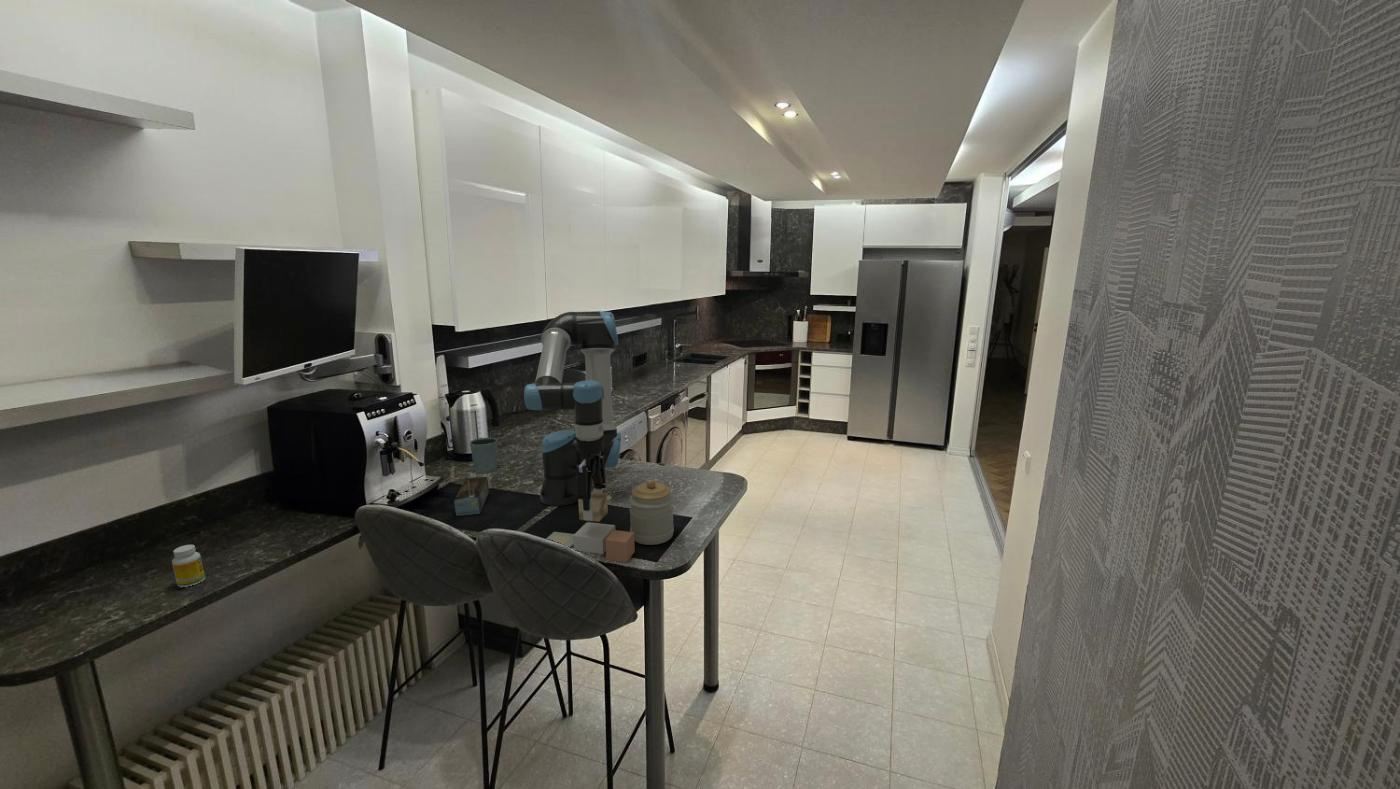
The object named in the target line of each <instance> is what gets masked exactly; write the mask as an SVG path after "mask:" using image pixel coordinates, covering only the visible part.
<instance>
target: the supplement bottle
mask: <svg viewBox="0 0 1400 789" xmlns="http://www.w3.org/2000/svg"><path fill="white" fill-rule="evenodd" d="M172 552H173V556H174V558H173V559H172V561H171V564H172V569H173V573H174V577H175V581H176V582H175V583H176V585H177V587H178V586H179V587H178V588H183V587H185V588H189V587H188V586H191V587H193V586H192V585H194V586H196V584H197V585H199V584H201V583H203V582H204V581H205V580H206V573H205V570H204V565H203V561H202V556H201V553H200V552H197V551H196V546H195V545H194V544H185V545H180V546H179V547H177V548H175V549H174V550H173V551H172ZM200 582H201V583H200ZM198 583H199V584H198Z"/></svg>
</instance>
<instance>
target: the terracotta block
mask: <svg viewBox="0 0 1400 789" xmlns="http://www.w3.org/2000/svg"><path fill="white" fill-rule="evenodd" d="M605 541H606V552H605V560H608V561H613V562H614V561H615V562H622V563H628V562H629V560H630V559H631V558H632V556H633V554H634V553H635V551H636V549H635V541H634V532H630V531H626V530H625V531H624V530H616V529H615V530H614V531H613V532H612V533H611V534H610V535H609V536H608V538H607V539H606V540H605Z"/></svg>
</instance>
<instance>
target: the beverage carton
mask: <svg viewBox="0 0 1400 789" xmlns="http://www.w3.org/2000/svg"><path fill="white" fill-rule="evenodd" d="M457 492H458V493H457V494H456V496H455V498H454V500H453V504H454V512H455V515H456V517H457V516H468V515H469V516H470V515H471V516H472V515H480V514H481V512H482V510H483V508H484V505H485V503H486V501H487V499H488V495H489V493H490V486H489V477H488V476H481V477H480V476H479V477H477V476H476V477H470V478H465V480H464V481H463V483H462V484H461V487H460V488H459V490H458V491H457Z"/></svg>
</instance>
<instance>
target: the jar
mask: <svg viewBox="0 0 1400 789" xmlns="http://www.w3.org/2000/svg"><path fill="white" fill-rule="evenodd" d="M628 501H629V504H630V507H629V513H630V515H629V516H630V517H629V518H630V528H629V532H634V542H636V543H637V544H640V545H649V546H652V545H654V546H655V545H660V544H664V543H666V542H668V541H669V540H671V539H672V538H673V536H674V531H675V530H674V528H675V527H674V506H673V504H672V502H674V496H673V495H672V493H671V489H670V487H669V486H667V485H665V484H663V483H661V482H656V481H655V480H654V479H647V481H646V482H642V483H640V484H638V485H637V486H636V487H634V488H633V489H632V490H631V495H630V497H629V500H628Z"/></svg>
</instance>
